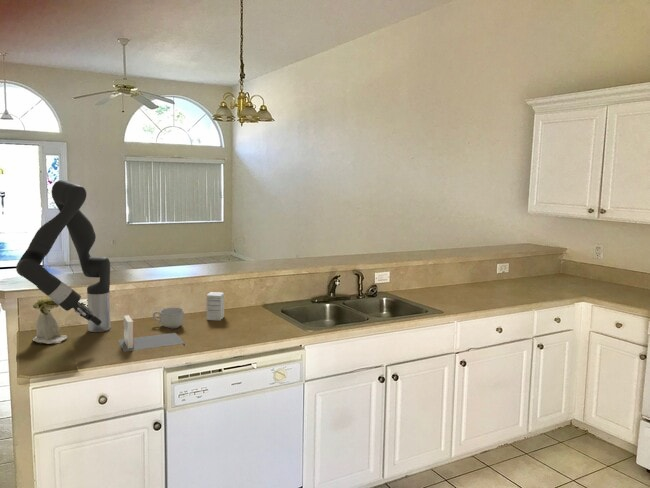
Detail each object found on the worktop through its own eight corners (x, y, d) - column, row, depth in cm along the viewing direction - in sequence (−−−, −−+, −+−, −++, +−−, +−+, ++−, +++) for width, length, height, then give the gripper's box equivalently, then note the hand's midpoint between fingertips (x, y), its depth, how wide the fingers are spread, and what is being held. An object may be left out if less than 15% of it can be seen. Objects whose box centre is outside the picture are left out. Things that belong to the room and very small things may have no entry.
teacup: (186, 324, 244) (186, 307, 243) (180, 330, 233) (179, 313, 232) (158, 322, 244) (157, 306, 243) (149, 329, 233) (149, 312, 232)
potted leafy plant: (47, 347, 206) (45, 303, 203) (25, 342, 211) (22, 299, 208) (72, 339, 217) (70, 296, 214) (50, 334, 222) (48, 293, 219)
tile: (124, 341, 214) (123, 315, 212) (130, 340, 215) (129, 315, 213) (128, 348, 205) (127, 322, 204) (134, 347, 206) (133, 321, 205)
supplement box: (210, 316, 258) (210, 291, 257) (224, 316, 258) (224, 292, 256) (206, 320, 251) (206, 295, 249) (220, 320, 251) (221, 295, 249)
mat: (118, 341, 215) (118, 339, 215) (175, 334, 227) (175, 332, 227) (123, 353, 202) (123, 351, 201) (184, 345, 213) (184, 343, 213)
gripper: (72, 292, 191) (108, 320, 198) (70, 285, 202) (104, 312, 210) (57, 307, 189) (94, 335, 197) (56, 299, 200) (91, 326, 208)
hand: (99, 323), depth 203 cm, fingers closed
